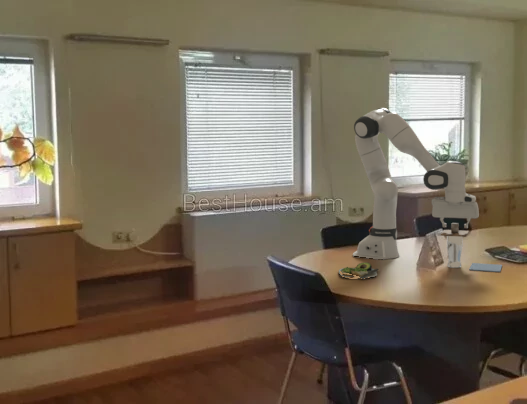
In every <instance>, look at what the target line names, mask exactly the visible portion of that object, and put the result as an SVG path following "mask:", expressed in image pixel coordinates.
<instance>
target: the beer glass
mask: <svg viewBox="0 0 527 404" xmlns="http://www.w3.org/2000/svg"><path fill="white" fill-rule="evenodd" d="M463 240H464V239H463V237H460V236H446V250H447V254H448V255H447V256H448V262H447V267H448V268H451V269H460V268H462V262H461V260H462V258H461V257H462V251H463V246H464V242H463Z"/></svg>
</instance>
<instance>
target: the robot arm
mask: <svg viewBox="0 0 527 404" xmlns="http://www.w3.org/2000/svg"><path fill="white" fill-rule="evenodd" d="M353 130H354V132H355V133H354V134H355V135H354V140H355V147H356V150H357V152H358V153H357V154H358V155H359V159H360V161H361V163H362V165H363V168H364V171H365V174H366V177H367V179H368V183H369V185H370V187H371V188H370V189H371V191H372V193H373V197H374V198H373V211H372V226H371V227H370V228H369V229H368V233H369V235H367V236H366V237H364V238H363V239H362V240H361V241H359V243H358V245H357V249H356V251H354V252H353V253H352V257H354V256H359V257H358V258H360V257H366V258H365V259H369V258H373V259H372V260H378V259H383V260H387V259H388V260H389V259H395V258H396V259H397V258H399V257H400V253H399V249H398V242H397V238H398V230H397V229H398V228H397V206H398V195H399V194H398V192H399V188H398V185H397V183H396V181H394V180H393V178H392V175H391V173H390V168H389V166H388V162H387V159H386V157H385V154H384V152H383V149H382V147H381V144H380V141H379V138H378V137H379V135H380V134H384V135H385V136H386V137H387V139H388V140H389V141H390V143H391V144H392V145H393V147H395V148H396V149H397V150H398V151H399V152H401V153H403V154H407V155H410V156H411V157H413V158H414V159H416V161H418V163H419V164H420V165H421V167H422V168H424V170H425V171H426V172H425V173H424V175H423V184H424V186H426V189H427V188H428V189H429V190H433V191H436V190H440V189H444V196H435V197H433V198H432V199H431V206H432V210H431V216H432V217H433V218H439V221H440V222H441V224H442V228H447V223H446V222H445V221H444V219H445V218H446V219H448V218H449V219H466V221H467V222H466V223H464V224H463V226H464V228H463V229H468V228H469V223H470V221H471V219H478V218H479V216H480V211H479V210H480V209H479V204H478V202H477V198H476V197H477V196H476V195H474V194H470V193H467V192H466V191H467V190H466V186H465V185H466V180H467V177H466V176H467V175H466V167H465V165H464V164H463V163H462V162H461V161H457V160H456V161H455V160H447V161H446V162H445V163H443V164H441V163H439V162H438V161H437V160H436V159H435V157H434V156H432V154H431V153H430V152H429V150H427V149H426V148H425V146H424V144H423V143H422V141H421V140H420V139H419V136H417V134H416V133H415V131H414V130H413V128H412V127H411V126H410V125H409V123H408V122H407V121H406V120H405V119H404V118H403V117H402V115H399V113H398V112H394V111H393V112H391V111H390V110H389V109H387V108H385V107H379V108H377V109H374V110H371V111H368V112H367V113H366V114H364V115H362V116H359V117H358V119H356V120H355V122H354V125H353Z"/></svg>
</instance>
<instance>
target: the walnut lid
mask: <svg viewBox="0 0 527 404" xmlns="http://www.w3.org/2000/svg"><path fill="white" fill-rule="evenodd" d="M450 224H451V225H450V229H443V230H442V232H441V233H440V236H441V237H442V236H444V237H447V236H460V237H465V238H467V236H468V235H469V234H470V233H469V232H470V230H459V226H460V225H459V222H452V223H450Z"/></svg>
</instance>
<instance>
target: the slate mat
mask: <svg viewBox="0 0 527 404" xmlns="http://www.w3.org/2000/svg"><path fill="white" fill-rule="evenodd" d="M502 267H503V264H493V263H479V262H476V263H475V262H472V263H471V264H470V267H469V268H468V270H469V271H474V272H488V273H489V272H490V273H501V271H502Z"/></svg>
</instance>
